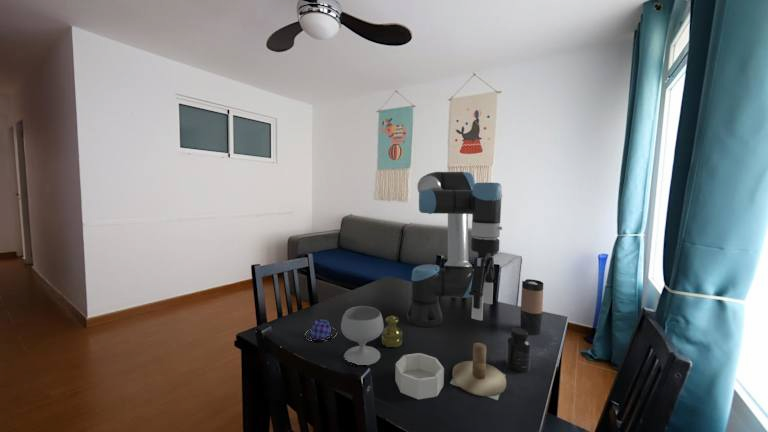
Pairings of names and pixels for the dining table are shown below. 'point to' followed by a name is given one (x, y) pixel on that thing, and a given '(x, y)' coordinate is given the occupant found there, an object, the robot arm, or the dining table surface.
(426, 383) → the bowl
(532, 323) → the travel mug
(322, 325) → the purple plaid hat
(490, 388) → the lid
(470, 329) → the dining table surface
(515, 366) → the supplement bottle
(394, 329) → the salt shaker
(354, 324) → the chalice
